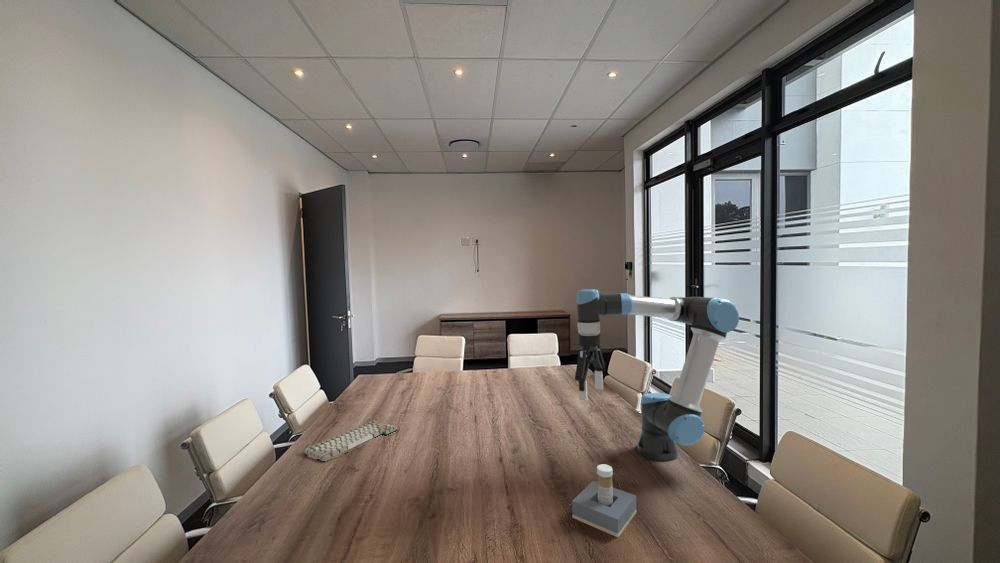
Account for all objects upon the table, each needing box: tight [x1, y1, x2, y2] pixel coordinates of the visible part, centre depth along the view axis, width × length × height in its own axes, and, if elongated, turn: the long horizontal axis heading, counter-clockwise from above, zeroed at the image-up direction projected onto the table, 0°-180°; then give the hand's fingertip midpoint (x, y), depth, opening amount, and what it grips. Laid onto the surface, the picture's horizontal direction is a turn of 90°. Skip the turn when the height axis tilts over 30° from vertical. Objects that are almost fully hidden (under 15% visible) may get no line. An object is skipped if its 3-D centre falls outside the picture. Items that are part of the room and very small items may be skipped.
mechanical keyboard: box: [303, 419, 398, 462], centre depth 169 cm, size 38×19×3 cm, turn 148°
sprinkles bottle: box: [596, 463, 614, 507], centre depth 113 cm, size 5×5×13 cm
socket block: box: [571, 480, 637, 538], centre depth 113 cm, size 14×14×5 cm
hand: (591, 394), depth 133 cm, fingers open, 13 cm apart
